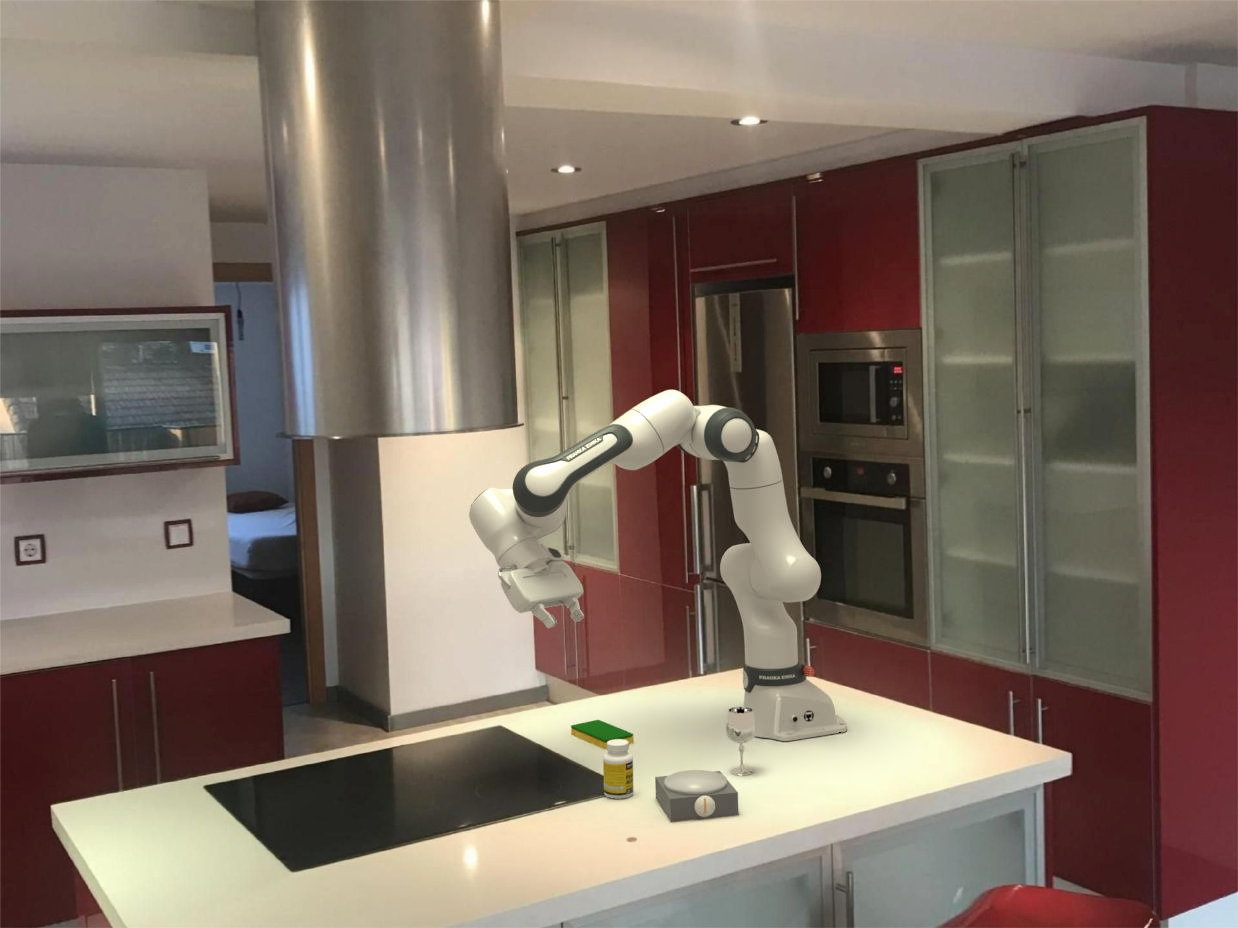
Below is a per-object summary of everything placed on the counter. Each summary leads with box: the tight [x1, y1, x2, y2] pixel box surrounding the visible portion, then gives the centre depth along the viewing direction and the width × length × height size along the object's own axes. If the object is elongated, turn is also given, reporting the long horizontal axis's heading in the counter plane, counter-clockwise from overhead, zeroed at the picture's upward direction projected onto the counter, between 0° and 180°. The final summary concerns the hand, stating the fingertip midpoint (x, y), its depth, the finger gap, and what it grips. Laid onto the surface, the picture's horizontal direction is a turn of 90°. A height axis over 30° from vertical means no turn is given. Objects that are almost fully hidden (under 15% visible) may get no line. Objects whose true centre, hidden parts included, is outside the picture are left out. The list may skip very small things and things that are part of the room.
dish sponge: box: [570, 719, 635, 750], centre depth 271 cm, size 7×14×2 cm, turn 33°
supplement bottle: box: [602, 739, 634, 800], centre depth 236 cm, size 5×5×10 cm
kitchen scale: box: [654, 769, 739, 823], centre depth 228 cm, size 12×13×5 cm
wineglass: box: [725, 706, 756, 776], centre depth 246 cm, size 6×6×12 cm
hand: (566, 622), depth 240 cm, fingers open, 8 cm apart
